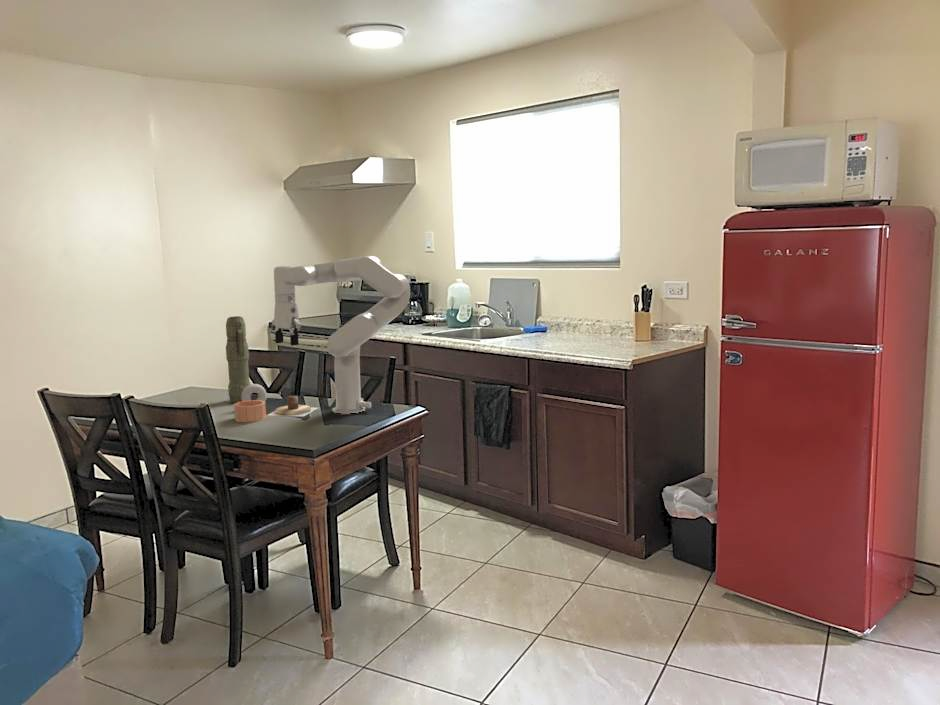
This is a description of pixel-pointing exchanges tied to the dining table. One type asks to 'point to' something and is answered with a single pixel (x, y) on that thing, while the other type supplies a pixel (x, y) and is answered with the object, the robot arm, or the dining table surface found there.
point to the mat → (292, 415)
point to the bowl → (250, 411)
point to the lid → (293, 407)
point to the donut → (251, 389)
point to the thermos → (237, 357)
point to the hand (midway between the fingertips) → (286, 343)
